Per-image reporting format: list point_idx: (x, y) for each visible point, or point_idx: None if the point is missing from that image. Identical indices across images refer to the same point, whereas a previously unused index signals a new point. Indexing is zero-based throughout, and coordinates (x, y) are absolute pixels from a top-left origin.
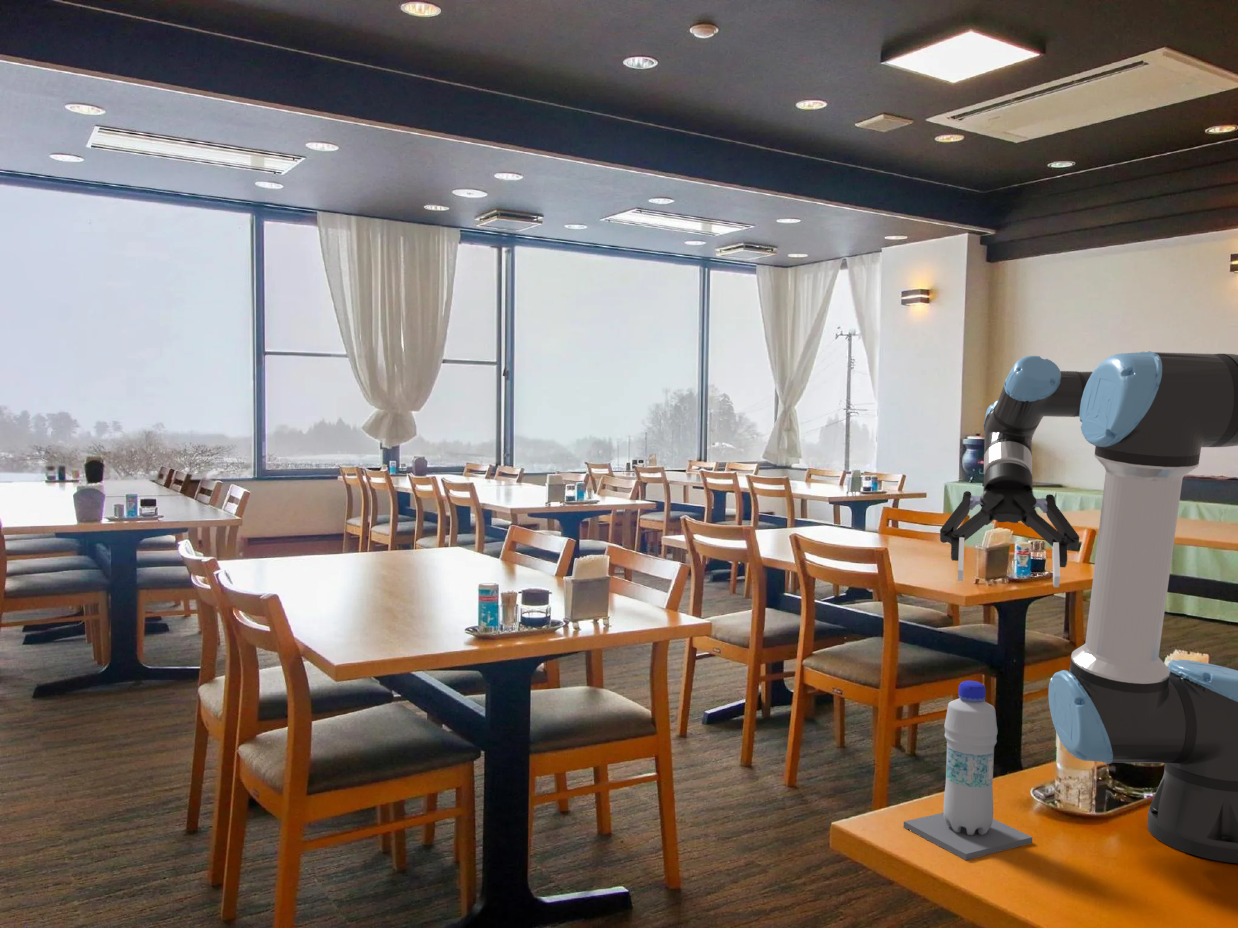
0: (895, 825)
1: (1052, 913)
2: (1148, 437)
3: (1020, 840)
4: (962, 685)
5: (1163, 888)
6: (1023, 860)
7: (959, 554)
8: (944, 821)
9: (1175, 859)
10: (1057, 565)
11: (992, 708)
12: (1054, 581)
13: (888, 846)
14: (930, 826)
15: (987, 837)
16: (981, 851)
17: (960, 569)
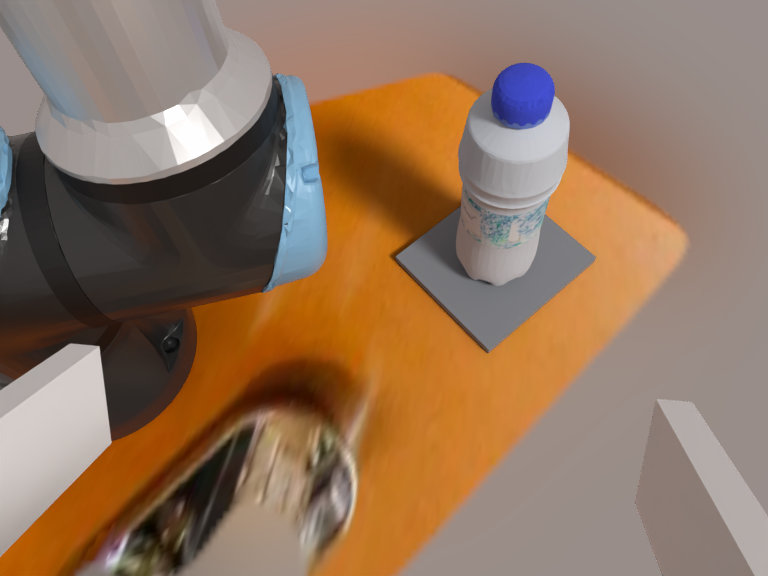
0: (607, 265)
1: (407, 87)
2: None
3: (415, 241)
4: (547, 73)
5: None
6: (418, 202)
7: (744, 494)
8: (529, 275)
9: None
10: (25, 382)
11: (473, 109)
12: (102, 395)
13: (608, 192)
14: (551, 251)
15: None
16: None
17: (677, 402)
